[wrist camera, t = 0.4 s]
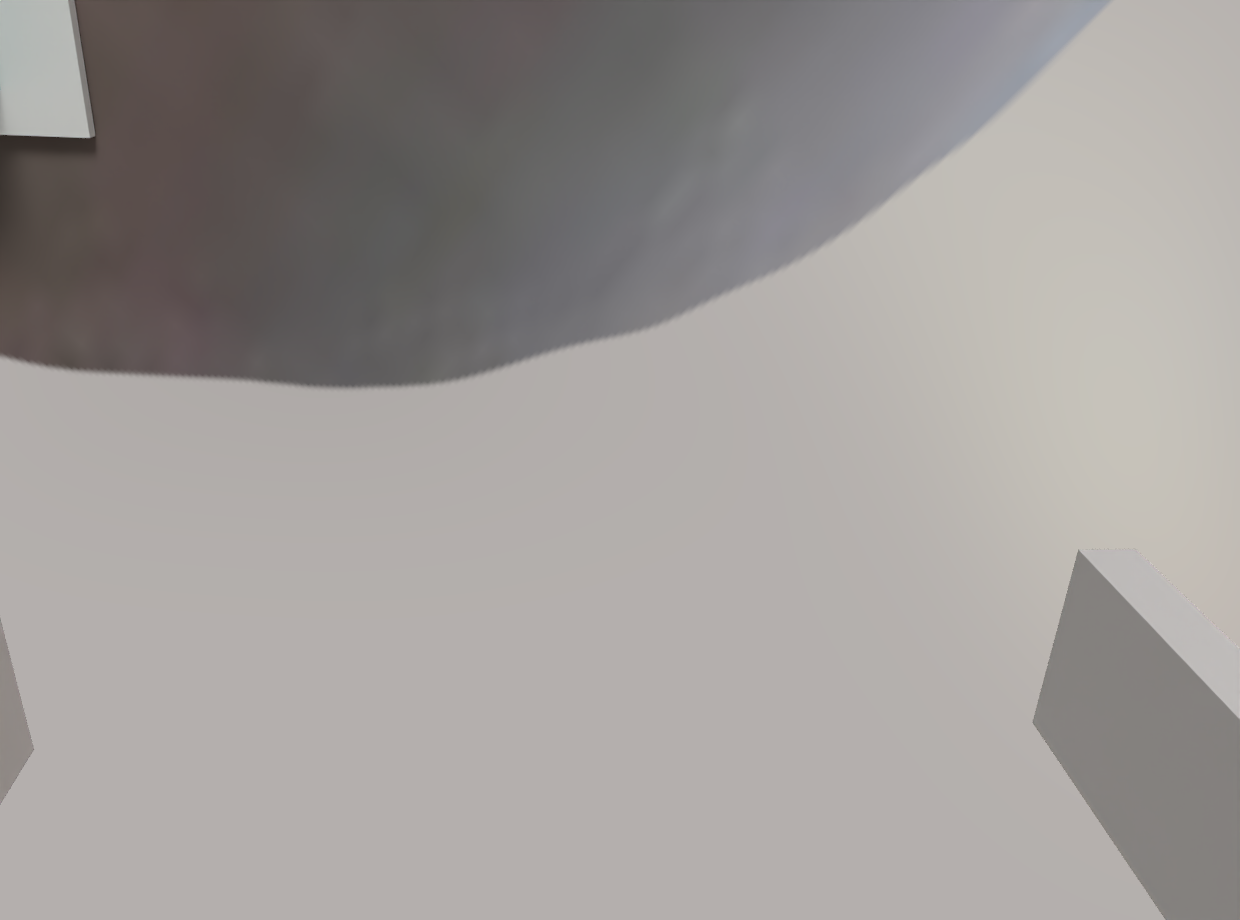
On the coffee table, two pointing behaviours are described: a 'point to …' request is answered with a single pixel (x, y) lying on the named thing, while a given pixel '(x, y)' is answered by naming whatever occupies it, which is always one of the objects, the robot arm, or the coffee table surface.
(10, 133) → the board
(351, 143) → the coffee table surface
